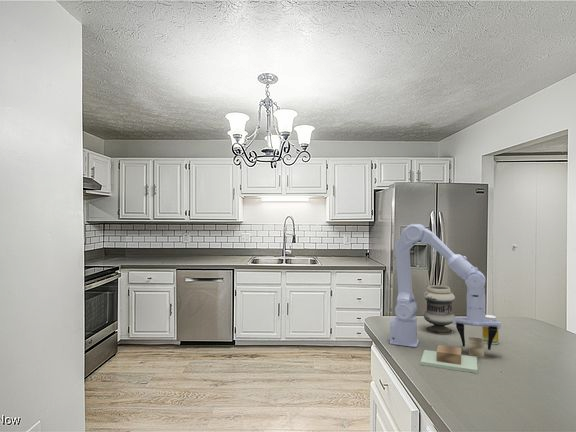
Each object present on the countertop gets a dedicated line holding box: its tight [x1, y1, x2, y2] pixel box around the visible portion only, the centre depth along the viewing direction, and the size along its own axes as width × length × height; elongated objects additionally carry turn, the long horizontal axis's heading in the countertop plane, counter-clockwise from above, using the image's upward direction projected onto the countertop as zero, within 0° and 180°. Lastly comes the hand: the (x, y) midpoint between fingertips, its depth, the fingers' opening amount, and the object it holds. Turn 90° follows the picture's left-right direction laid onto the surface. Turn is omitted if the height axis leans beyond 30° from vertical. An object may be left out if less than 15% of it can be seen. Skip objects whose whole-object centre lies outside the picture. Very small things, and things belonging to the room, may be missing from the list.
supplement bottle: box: [481, 314, 499, 345], centre depth 142 cm, size 5×5×10 cm
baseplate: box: [420, 349, 479, 374], centre depth 122 cm, size 16×12×1 cm
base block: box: [436, 344, 462, 365], centre depth 122 cm, size 7×7×3 cm
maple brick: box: [468, 336, 485, 358], centre depth 129 cm, size 4×4×5 cm
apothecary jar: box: [423, 284, 456, 335], centre depth 156 cm, size 12×12×18 cm
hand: (476, 347), depth 129 cm, fingers open, 7 cm apart
